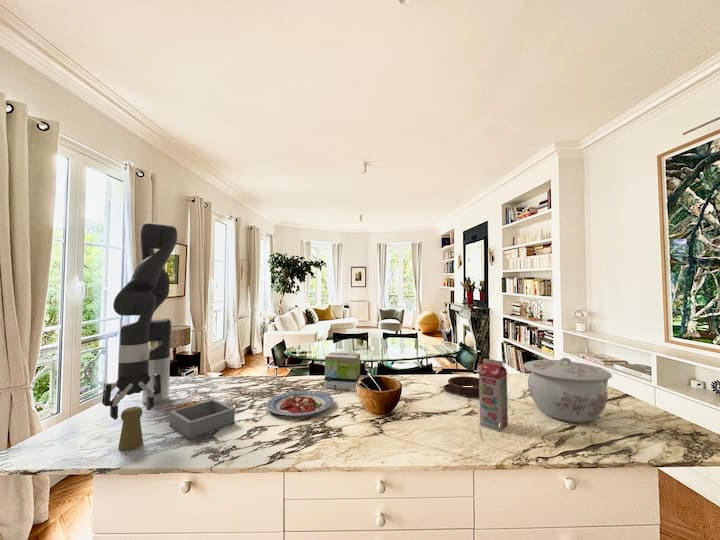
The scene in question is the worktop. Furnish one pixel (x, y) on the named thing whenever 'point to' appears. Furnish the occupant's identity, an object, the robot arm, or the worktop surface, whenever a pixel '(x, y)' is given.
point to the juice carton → (493, 395)
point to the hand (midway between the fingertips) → (132, 414)
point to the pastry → (185, 405)
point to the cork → (131, 429)
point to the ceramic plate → (299, 403)
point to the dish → (459, 382)
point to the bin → (201, 418)
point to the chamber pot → (568, 389)
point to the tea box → (342, 370)
